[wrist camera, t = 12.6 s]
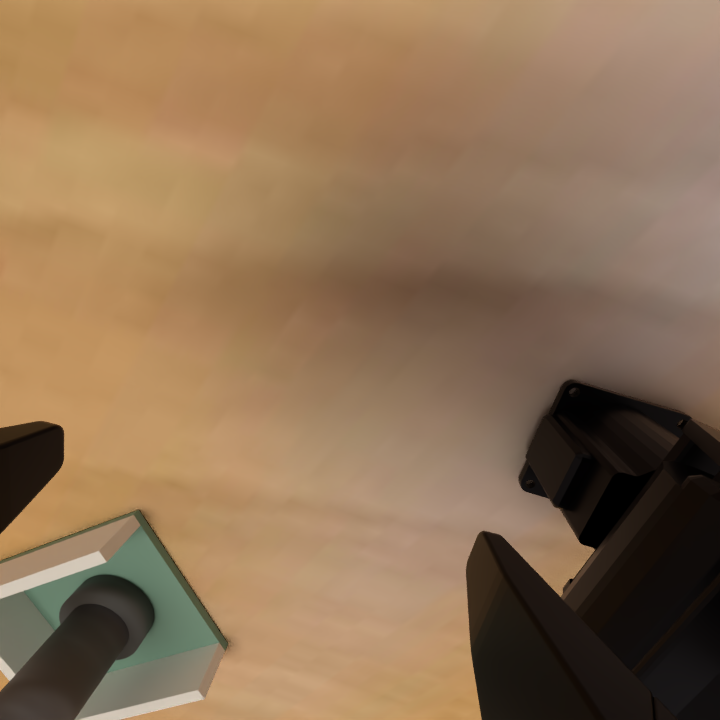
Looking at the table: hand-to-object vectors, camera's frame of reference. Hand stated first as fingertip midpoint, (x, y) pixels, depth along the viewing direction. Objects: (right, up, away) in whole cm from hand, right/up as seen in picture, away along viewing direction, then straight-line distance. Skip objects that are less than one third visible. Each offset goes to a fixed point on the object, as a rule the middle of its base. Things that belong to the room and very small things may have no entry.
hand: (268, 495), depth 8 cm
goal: (-15, -14, +19) cm, 28 cm away
